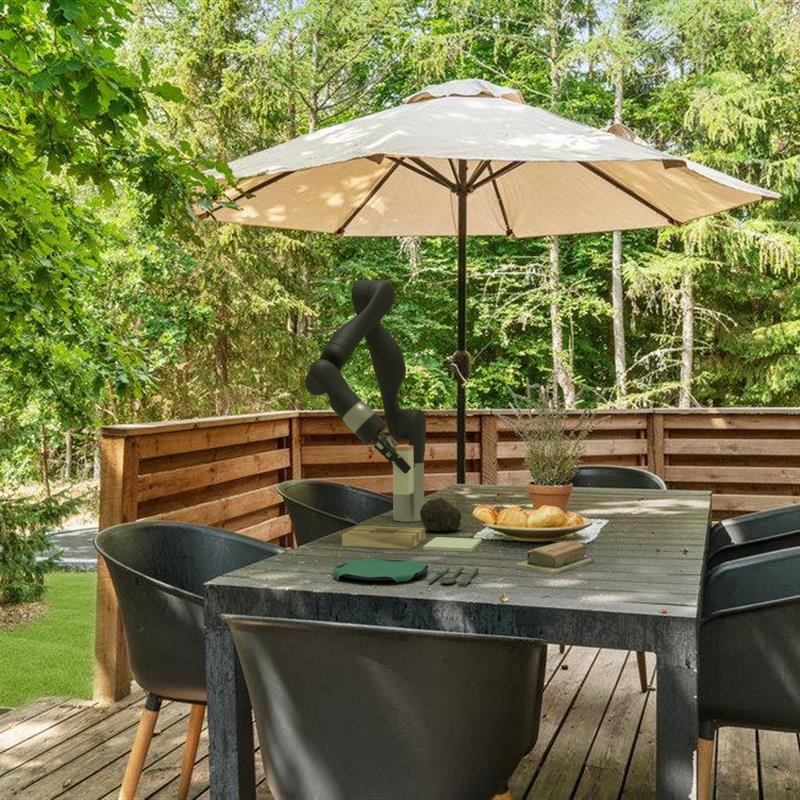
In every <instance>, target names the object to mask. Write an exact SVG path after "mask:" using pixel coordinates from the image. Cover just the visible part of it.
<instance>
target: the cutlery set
mask: <svg viewBox="0 0 800 800" xmlns="http://www.w3.org/2000/svg"><path fill="white" fill-rule="evenodd" d="M428 568H429V565H428V564H426V563H423V562H421V561H419V560H401V559H379V558H364V559H358V560H356V559H354V560H350V561H348V562H344V563H342V564H340V565H337V566H336V567H335V568H334V569H333V570H332V576H333V577H334V579H335V580H337V581H340V580H339V577H340V576H342V577H344V578H347V579H352V580H353V579H354V580H361V581H377V582H378V581H382V582H383V581H395V582H396V583H400V582H409V581H411V579H413V578H417V577H419V576H422V575H424V574H426V573H427V571H428ZM449 571H450V567H445V569H444V570H442V571H438V572H436V575H434V576H433V577H431V578H430V579H429V580H428V583H429V584H432V583H433V582H434V581H436V580H437V579H439V582H440V583H441V584H443V585H451V584H454V583H457V577H456V576H457V575H458V574H460V573H461V572H464V566H459V567H458V568H457V569H456V570H455V572H454V573H453V574H452V576H445V577H443V576H444V573H446V572H449ZM479 571H480V570H479V567H475V568H474V569H473V570H472V571H471V573H470V574H469V575H468V574H466V575H465V576H462V577H461V578H460V580H459V582H458V583H457V585H458V586H467V585H468V584H469V583H471V582H472V578H473V577H475V576H476V575H477V574H478V573H479Z"/></svg>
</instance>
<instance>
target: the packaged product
mask: <svg viewBox="0 0 800 800" xmlns="http://www.w3.org/2000/svg"><path fill="white" fill-rule="evenodd" d="M526 557H527V558H526V559H527V560H525V561H520V562H517V563H516V564H515V566H516V570H522V571H529V572H535V573H542V574H548V575H549V574H550V575H558V574H560V573H563V572H566V571H570V570H573V569H576V568H578V567H581V566H585V565H587V564H590V563H593V562H594V561H595V559H594V557H587V556H586V545H585V544H583V543H581V542H577V541H568V540H567V541H566V540H563V541H559V542H555V543H551V544H547V545H542V546H540V547H536V548H533V549H530V550H527V552H526Z"/></svg>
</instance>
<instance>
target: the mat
mask: <svg viewBox="0 0 800 800" xmlns="http://www.w3.org/2000/svg"><path fill="white" fill-rule="evenodd" d="M481 543H482V538H468V537H467V538H464V537H441V536H439V537H438V536H435V538H432V539H431V540H430V541H429V542H427V543H426V544H425V545H423V547H422V550H424V551H445V552H446V551H447V552H448V551H450V552H470V553H471V552H472V551H474V550H475V549H476V548H477V547H478V546H479V545H480V544H481Z"/></svg>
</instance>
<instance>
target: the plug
mask: <svg viewBox="0 0 800 800" xmlns="http://www.w3.org/2000/svg"><path fill="white" fill-rule="evenodd" d="M408 445H409V444H407V445H403V444H402V445H401V444H399V445H398V446H395V448H396V451H397V453H398V454H399V455H400V456H401V457H402V458H403V459H404V460H405V461H406V463H407V464H408V465H409V466H410V467H411V469H410V470H409V471H408V472H407V473H404V472H403V471H402V470H401V469H400V468H399V467H398V466H397V465H396V464H394V463H392V495H393V494H402V495H409V494H411V493H413V492H414V455H413V446H408ZM401 457H400V458H401Z"/></svg>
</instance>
